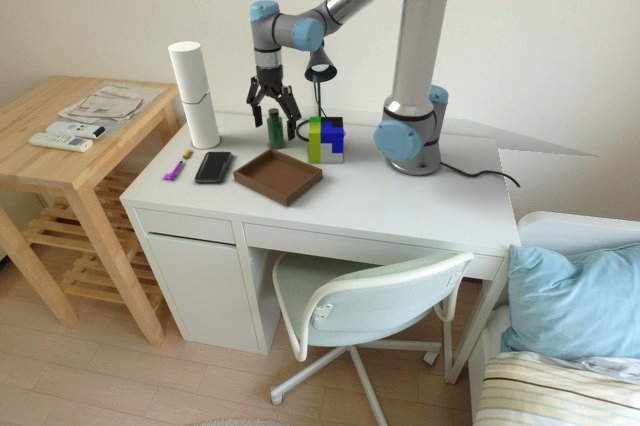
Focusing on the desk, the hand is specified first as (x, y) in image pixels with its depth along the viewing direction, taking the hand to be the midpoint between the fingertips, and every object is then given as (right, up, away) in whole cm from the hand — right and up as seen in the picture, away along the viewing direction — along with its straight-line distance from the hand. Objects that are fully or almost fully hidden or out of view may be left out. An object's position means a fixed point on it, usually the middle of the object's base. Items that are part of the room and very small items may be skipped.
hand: (275, 132), depth 119 cm
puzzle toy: (+16, -7, -1) cm, 18 cm away
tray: (+2, -16, -11) cm, 20 cm away
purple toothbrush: (-28, -11, -5) cm, 31 cm away
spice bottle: (0, -3, +3) cm, 5 cm away
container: (-23, -2, +5) cm, 24 cm away
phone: (-17, -12, -7) cm, 22 cm away
